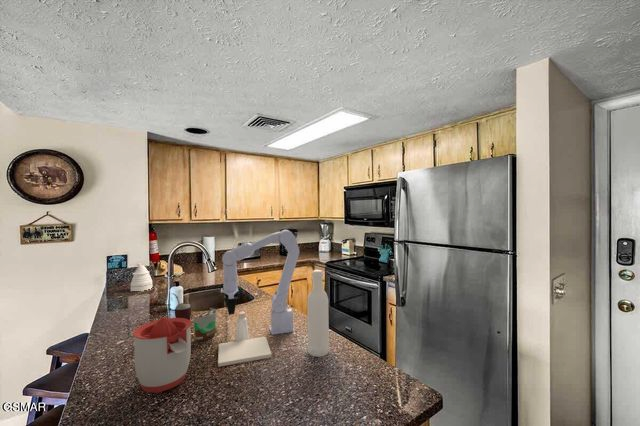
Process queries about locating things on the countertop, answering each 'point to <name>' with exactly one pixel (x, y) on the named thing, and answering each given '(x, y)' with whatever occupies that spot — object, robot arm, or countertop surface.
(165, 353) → the citrus juicer
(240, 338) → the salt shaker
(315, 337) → the bottle
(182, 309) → the mate gourd
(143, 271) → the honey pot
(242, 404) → the countertop surface
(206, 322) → the food container
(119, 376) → the countertop surface
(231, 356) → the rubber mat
